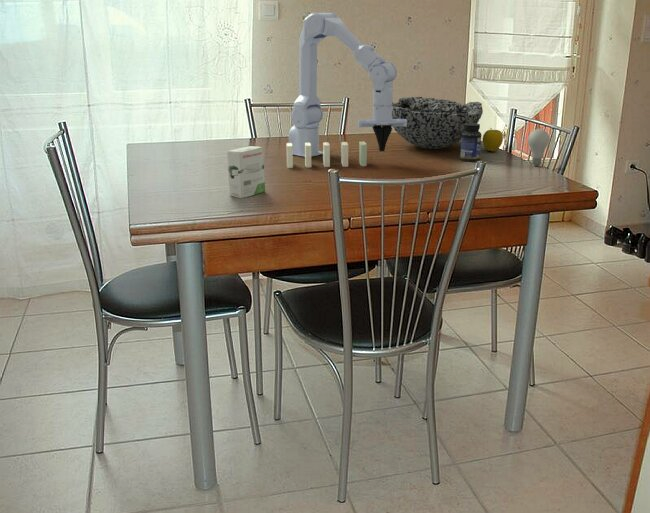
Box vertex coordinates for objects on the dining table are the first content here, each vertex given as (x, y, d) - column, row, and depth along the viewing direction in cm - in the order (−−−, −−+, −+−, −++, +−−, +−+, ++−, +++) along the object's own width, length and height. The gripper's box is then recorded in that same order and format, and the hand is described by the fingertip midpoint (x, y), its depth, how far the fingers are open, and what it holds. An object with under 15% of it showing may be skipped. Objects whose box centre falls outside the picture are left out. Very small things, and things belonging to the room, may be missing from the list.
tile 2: (306, 167, 216) (305, 145, 213) (305, 164, 220) (304, 142, 218) (311, 167, 216) (311, 145, 214) (310, 163, 220) (310, 142, 218)
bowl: (374, 153, 235) (374, 106, 230) (398, 137, 263) (399, 95, 258) (471, 159, 225) (474, 110, 220) (486, 142, 253) (489, 98, 248)
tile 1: (287, 168, 215) (286, 146, 213) (286, 164, 220) (286, 143, 218) (292, 167, 215) (292, 146, 213) (292, 164, 220) (291, 143, 218)
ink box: (252, 189, 191) (250, 144, 187) (266, 192, 188) (264, 146, 184) (228, 195, 184) (226, 149, 181) (242, 198, 181) (239, 152, 178)
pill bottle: (479, 162, 221) (482, 126, 217) (459, 161, 222) (461, 125, 218) (479, 158, 227) (482, 122, 223) (460, 157, 228) (462, 122, 224)
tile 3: (324, 167, 216) (324, 145, 214) (323, 163, 221) (323, 142, 219) (329, 167, 216) (329, 145, 214) (328, 163, 221) (328, 142, 219)
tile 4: (342, 166, 216) (342, 145, 214) (341, 163, 221) (341, 142, 219) (348, 166, 216) (348, 144, 214) (346, 163, 221) (346, 141, 219)
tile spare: (361, 166, 217) (361, 144, 215) (359, 162, 222) (359, 141, 219) (366, 166, 217) (366, 144, 215) (364, 162, 222) (364, 141, 219)
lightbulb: (547, 164, 217) (551, 128, 213) (546, 169, 211) (550, 131, 208) (526, 163, 219) (529, 127, 215) (524, 167, 213) (528, 130, 210)
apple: (480, 152, 235) (481, 128, 232) (483, 149, 240) (485, 125, 238) (500, 154, 233) (502, 129, 230) (503, 150, 238) (505, 126, 236)
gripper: (359, 107, 210) (359, 153, 214) (409, 106, 211) (408, 152, 215) (356, 104, 216) (356, 149, 221) (404, 103, 217) (403, 148, 222)
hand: (381, 150), depth 218 cm, fingers closed
